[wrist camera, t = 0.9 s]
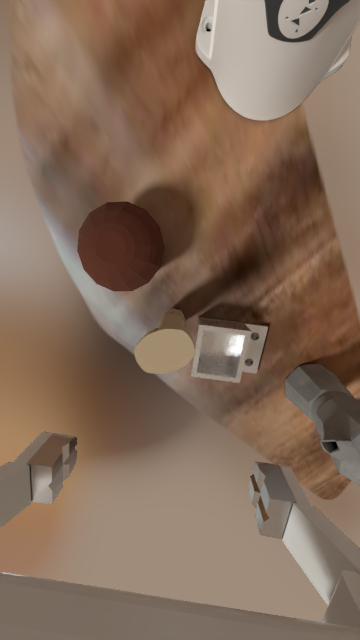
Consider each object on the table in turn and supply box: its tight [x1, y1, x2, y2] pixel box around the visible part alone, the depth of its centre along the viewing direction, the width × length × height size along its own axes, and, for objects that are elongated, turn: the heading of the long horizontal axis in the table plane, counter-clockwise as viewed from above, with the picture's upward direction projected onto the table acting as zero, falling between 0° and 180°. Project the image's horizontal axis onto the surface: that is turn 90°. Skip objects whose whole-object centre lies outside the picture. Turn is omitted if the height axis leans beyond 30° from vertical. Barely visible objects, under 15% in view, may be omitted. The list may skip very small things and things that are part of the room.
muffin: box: [77, 202, 164, 291], centre depth 29 cm, size 12×11×10 cm
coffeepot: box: [285, 363, 360, 486], centre depth 29 cm, size 15×9×18 cm, turn 78°
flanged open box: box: [191, 317, 268, 383], centre depth 35 cm, size 9×12×5 cm
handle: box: [135, 308, 195, 374], centre depth 29 cm, size 5×6×15 cm
